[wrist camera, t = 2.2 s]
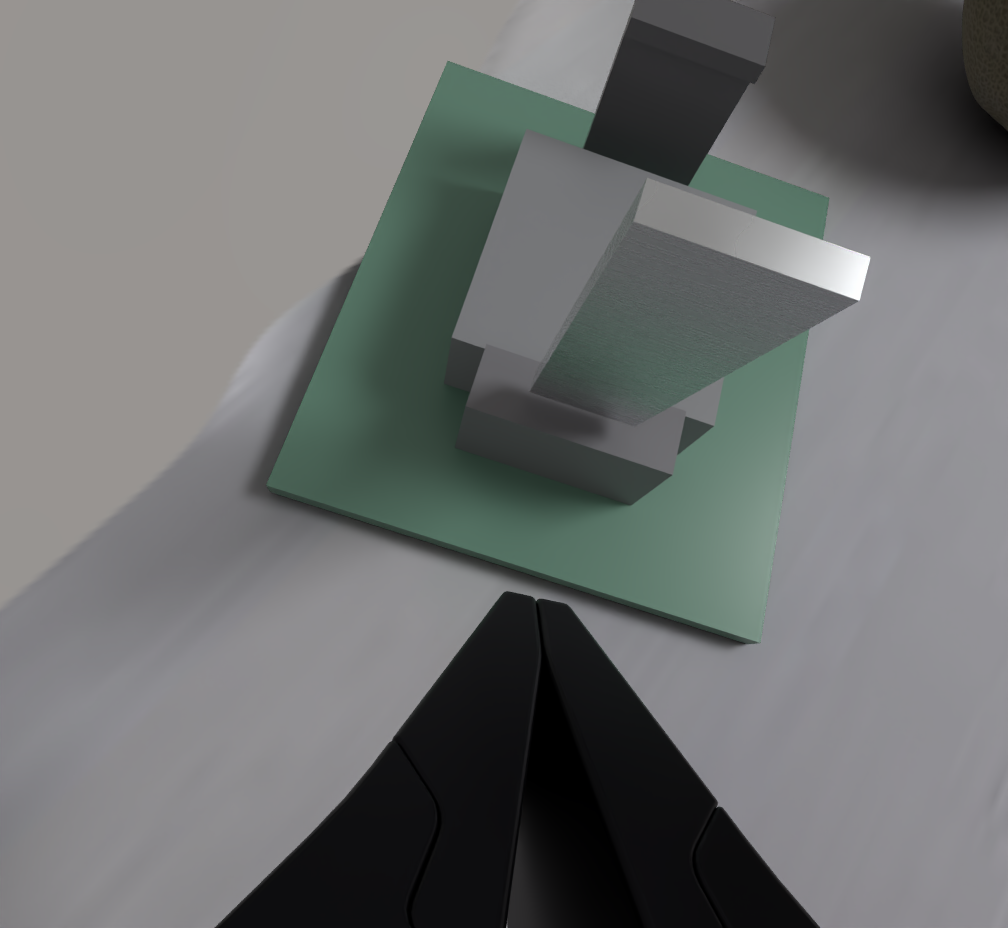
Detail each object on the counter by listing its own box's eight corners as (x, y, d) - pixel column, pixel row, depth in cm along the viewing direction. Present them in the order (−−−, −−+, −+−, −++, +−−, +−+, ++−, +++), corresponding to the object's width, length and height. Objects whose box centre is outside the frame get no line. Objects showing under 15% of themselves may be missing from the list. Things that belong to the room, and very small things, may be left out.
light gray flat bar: (634, 427, 18) (859, 300, 9) (529, 391, 18) (634, 221, 8) (640, 405, 19) (870, 256, 9) (536, 371, 18) (646, 177, 8)
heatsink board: (748, 644, 22) (923, 626, 15) (270, 492, 21) (205, 393, 14) (817, 211, 28) (967, 45, 21) (446, 77, 27) (465, -145, 20)
